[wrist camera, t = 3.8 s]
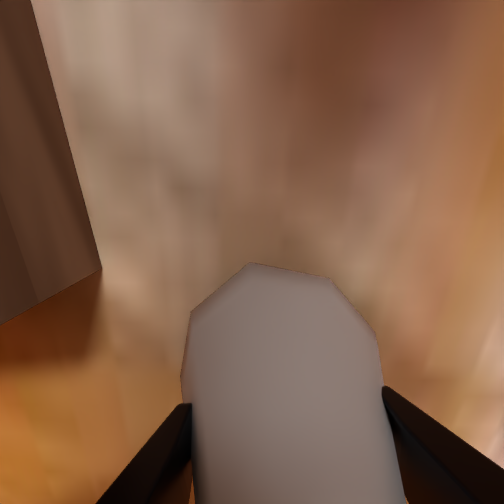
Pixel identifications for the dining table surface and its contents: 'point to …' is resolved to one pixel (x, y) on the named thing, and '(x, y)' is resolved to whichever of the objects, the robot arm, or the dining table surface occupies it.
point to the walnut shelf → (35, 176)
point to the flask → (286, 395)
